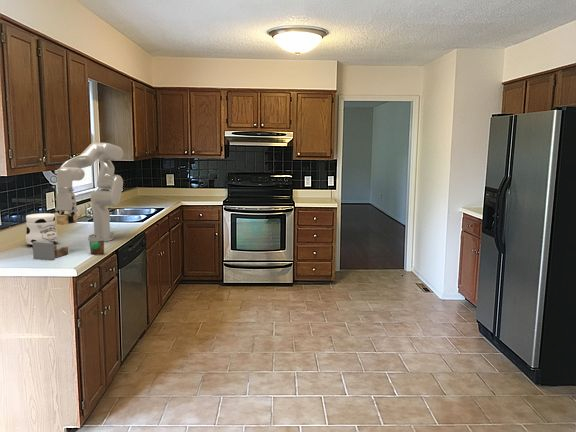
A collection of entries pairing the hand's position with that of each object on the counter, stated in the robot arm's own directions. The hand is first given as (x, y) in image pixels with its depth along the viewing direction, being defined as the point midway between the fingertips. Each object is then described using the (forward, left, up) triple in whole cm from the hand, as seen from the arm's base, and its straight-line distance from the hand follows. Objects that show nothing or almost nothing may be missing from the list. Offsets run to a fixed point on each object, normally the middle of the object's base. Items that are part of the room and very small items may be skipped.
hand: (67, 222), depth 267 cm
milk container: (-10, -27, -17) cm, 33 cm away
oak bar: (0, 0, 0) cm, 0 cm away
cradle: (+9, 0, -17) cm, 19 cm away
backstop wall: (+18, 0, -17) cm, 25 cm away
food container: (-1, +17, -17) cm, 24 cm away
